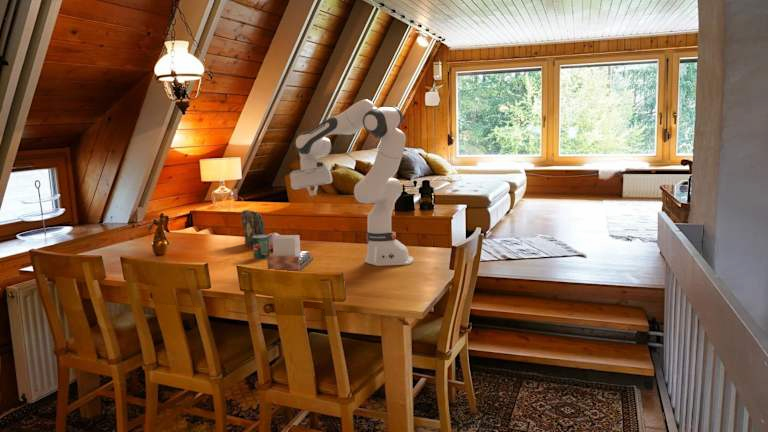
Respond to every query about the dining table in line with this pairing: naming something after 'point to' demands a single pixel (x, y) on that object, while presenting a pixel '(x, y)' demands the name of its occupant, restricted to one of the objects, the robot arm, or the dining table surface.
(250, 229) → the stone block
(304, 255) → the rollers
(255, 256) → the canned tomato
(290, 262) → the roller bed
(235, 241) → the dining table surface
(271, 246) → the decorative fruit
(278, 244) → the pale grey cube
